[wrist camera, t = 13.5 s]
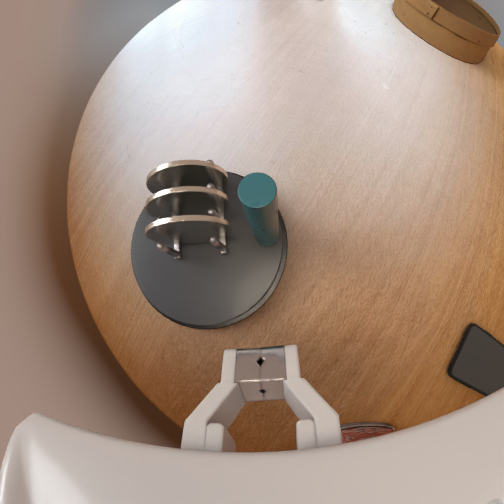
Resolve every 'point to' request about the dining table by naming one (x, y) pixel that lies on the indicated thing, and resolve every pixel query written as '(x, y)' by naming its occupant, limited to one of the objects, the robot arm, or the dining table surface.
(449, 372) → the smartphone
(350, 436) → the lighter
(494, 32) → the steamer basket
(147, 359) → the dining table surface
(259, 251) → the dish rack
